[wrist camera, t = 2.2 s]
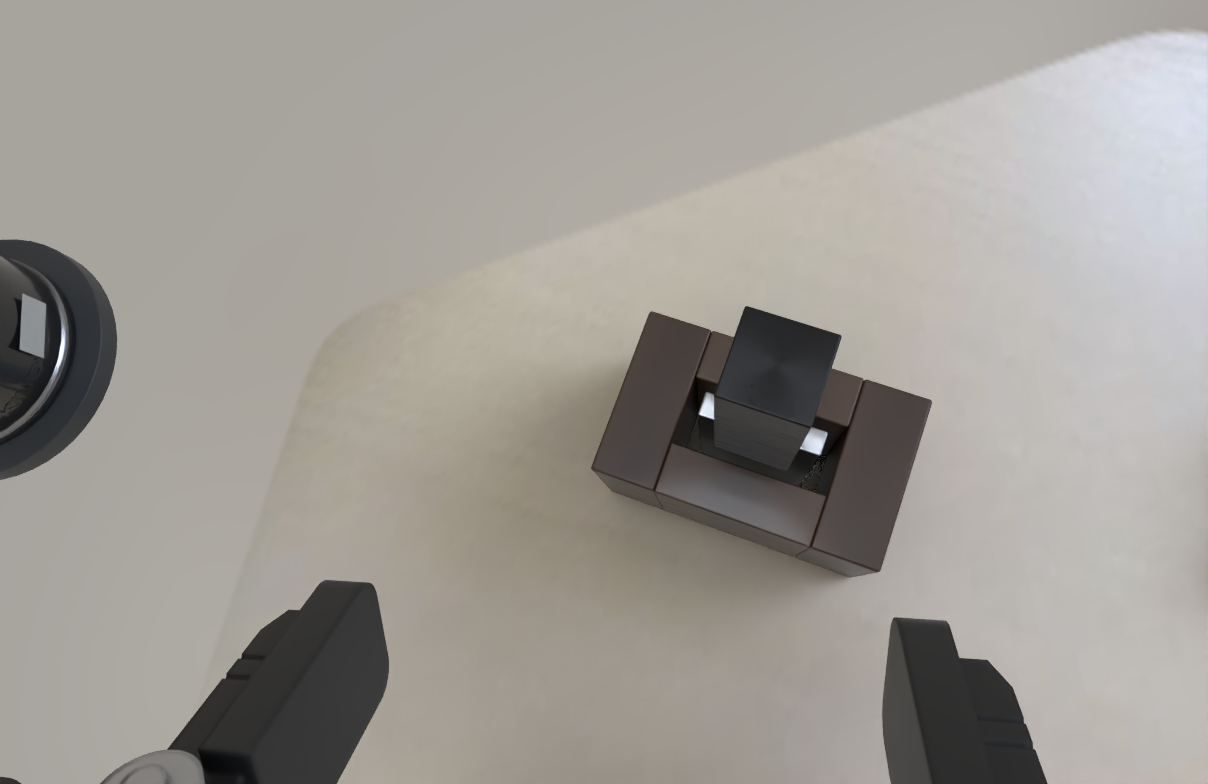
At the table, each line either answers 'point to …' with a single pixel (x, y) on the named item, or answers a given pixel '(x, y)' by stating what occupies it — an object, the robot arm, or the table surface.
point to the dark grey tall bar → (770, 397)
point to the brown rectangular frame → (745, 497)
